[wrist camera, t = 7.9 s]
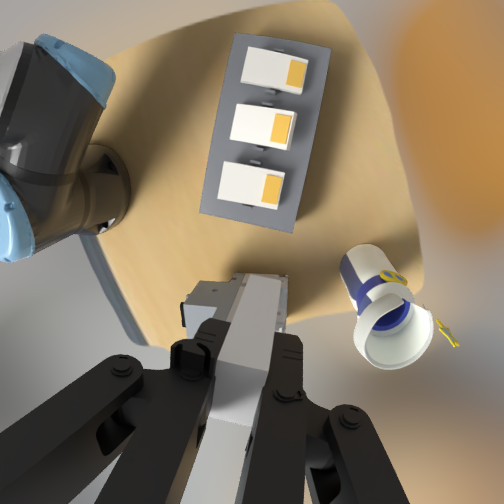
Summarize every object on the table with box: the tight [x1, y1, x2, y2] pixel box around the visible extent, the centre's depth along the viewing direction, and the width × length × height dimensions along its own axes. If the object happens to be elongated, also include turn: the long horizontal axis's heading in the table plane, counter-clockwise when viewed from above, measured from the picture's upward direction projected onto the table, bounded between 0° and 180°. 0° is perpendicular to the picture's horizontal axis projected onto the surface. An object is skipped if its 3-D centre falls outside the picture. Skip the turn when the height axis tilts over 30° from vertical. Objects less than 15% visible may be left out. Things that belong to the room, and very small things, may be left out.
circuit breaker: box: [180, 273, 288, 339], centre depth 41 cm, size 8×14×15 cm, turn 90°
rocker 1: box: [240, 46, 308, 95], centre depth 30 cm, size 7×4×1 cm, turn 79°
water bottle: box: [340, 244, 460, 370], centre depth 32 cm, size 8×9×25 cm
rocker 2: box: [230, 104, 297, 151], centre depth 33 cm, size 7×4×1 cm, turn 79°
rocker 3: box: [217, 161, 285, 210], centre depth 35 cm, size 7×4×1 cm, turn 79°
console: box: [199, 33, 331, 233], centre depth 36 cm, size 12×24×8 cm, turn 169°
